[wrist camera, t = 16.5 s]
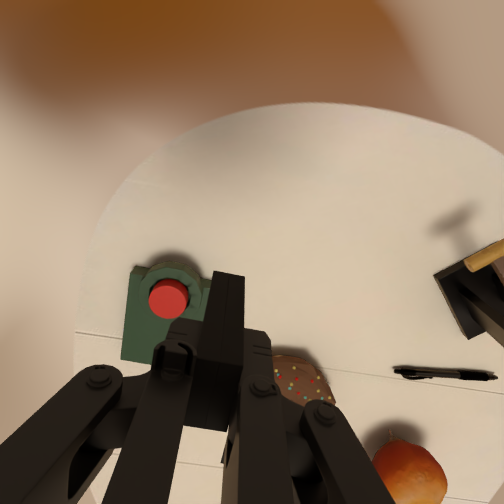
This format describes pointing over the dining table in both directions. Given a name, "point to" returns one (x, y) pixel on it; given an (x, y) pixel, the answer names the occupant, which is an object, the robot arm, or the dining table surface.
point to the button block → (145, 320)
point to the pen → (443, 374)
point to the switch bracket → (474, 299)
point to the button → (168, 298)
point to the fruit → (410, 473)
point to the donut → (300, 380)
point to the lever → (488, 259)
